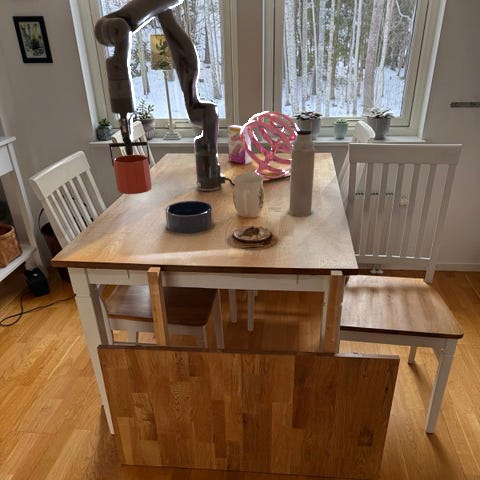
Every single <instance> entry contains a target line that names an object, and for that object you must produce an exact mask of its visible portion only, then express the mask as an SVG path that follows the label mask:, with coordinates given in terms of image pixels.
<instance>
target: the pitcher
mask: <svg viewBox="0 0 480 480" xmlns="http://www.w3.org/2000/svg"><path fill="white" fill-rule="evenodd" d="M255 171H256V170H247V171H245V172H244V173H241V174H238V175H235V176H234V177H233V183H234V184H235V186H234V188H233V193H232V200H233V205H234V208H235V210H236V212H237V214H238V215H239V216H240V217H242V218H243V217H244V218H251V219H254V218H258V217H259V215H260V214H261V212H262V211H263V207H264V203H265V189H264V186H263V180H264V178H263V176H261V175H262V174H261V175H259V174H257V173H256V172H255Z"/></svg>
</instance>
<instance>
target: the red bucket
mask: <svg viewBox="0 0 480 480" xmlns="http://www.w3.org/2000/svg"><path fill="white" fill-rule="evenodd" d="M108 146H109V152H110V153H109V154H110V159H111V164H112V167H113V168H114V176H115V181H116V182H115V183H116V188H117V191H118V193H120V194H124V195H138V194H139V195H140V194H145V193H147V192H150V191H151V190H152V187H153V184H152V176H151V167H150V165H151V157H150V148H149V142H148V141H132V146H133V147H144V146H145V147H146V153H147V155H145V154H133V155H127V154H125V155H120V156H117V157H115V158H114V152H113V148H125V143H124V142H110V143H108Z"/></svg>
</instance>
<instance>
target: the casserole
mask: <svg viewBox="0 0 480 480" xmlns="http://www.w3.org/2000/svg"><path fill="white" fill-rule="evenodd" d="M164 209H165V210H164V211H165V219H166V227H167V229H168V231H170V232H172V233H175V234H181V235H192V234H199V233H203V232H206V231H208V230H210V229H211V228H213V226H214V214H213V213H214V212H213V206H212V204H210V203H208V202H206V201H202V200H183V201H177V202H174V203H171V204H169V205H167V206H166V207H165V208H164Z"/></svg>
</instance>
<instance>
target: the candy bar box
mask: <svg viewBox="0 0 480 480" xmlns="http://www.w3.org/2000/svg"><path fill="white" fill-rule="evenodd" d="M243 126H244V125H243ZM243 126H242V125H237V124H232V125H229V126H227V145H228V146H227V147H228V149H227V150H228V161H229V162H233V163H237V164H241V165H248V164H251V163H252V158H251V157H250V156H249V155H248V154H247V152H246V151H245V149H244V147H243V145H242V143H241V139H240V133H241V130H242V128H243ZM244 138H245V141H246V143H247V145H248V147H249V148H250V150H251V151H252V141H251V140H250V138H249V135H248V132H247V128H245V129H244Z"/></svg>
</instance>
